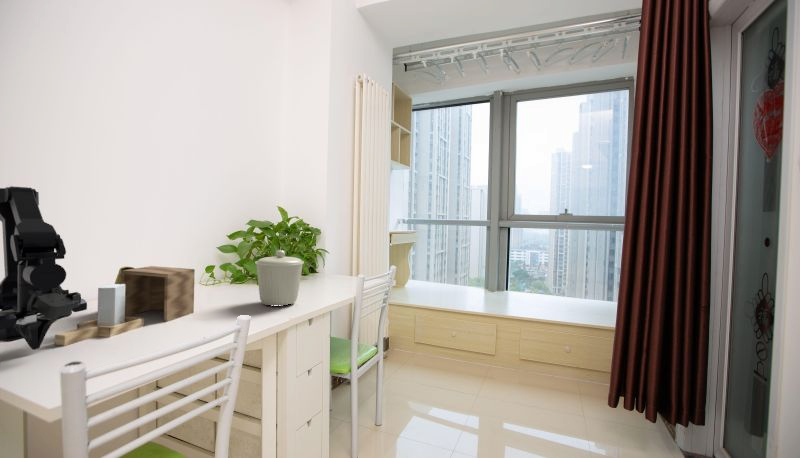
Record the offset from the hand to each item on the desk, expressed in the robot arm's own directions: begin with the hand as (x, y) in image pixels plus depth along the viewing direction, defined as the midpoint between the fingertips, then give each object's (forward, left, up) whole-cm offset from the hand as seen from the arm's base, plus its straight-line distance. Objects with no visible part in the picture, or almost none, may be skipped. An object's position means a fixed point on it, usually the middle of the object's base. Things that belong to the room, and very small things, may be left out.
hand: (35, 348), depth 81 cm
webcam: (+23, +27, -1) cm, 36 cm away
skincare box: (+18, 0, -1) cm, 18 cm away
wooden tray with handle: (+14, 0, -1) cm, 14 cm away
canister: (+59, -29, -1) cm, 66 cm away
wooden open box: (+34, 0, -1) cm, 34 cm away
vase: (+34, +17, 0) cm, 38 cm away
